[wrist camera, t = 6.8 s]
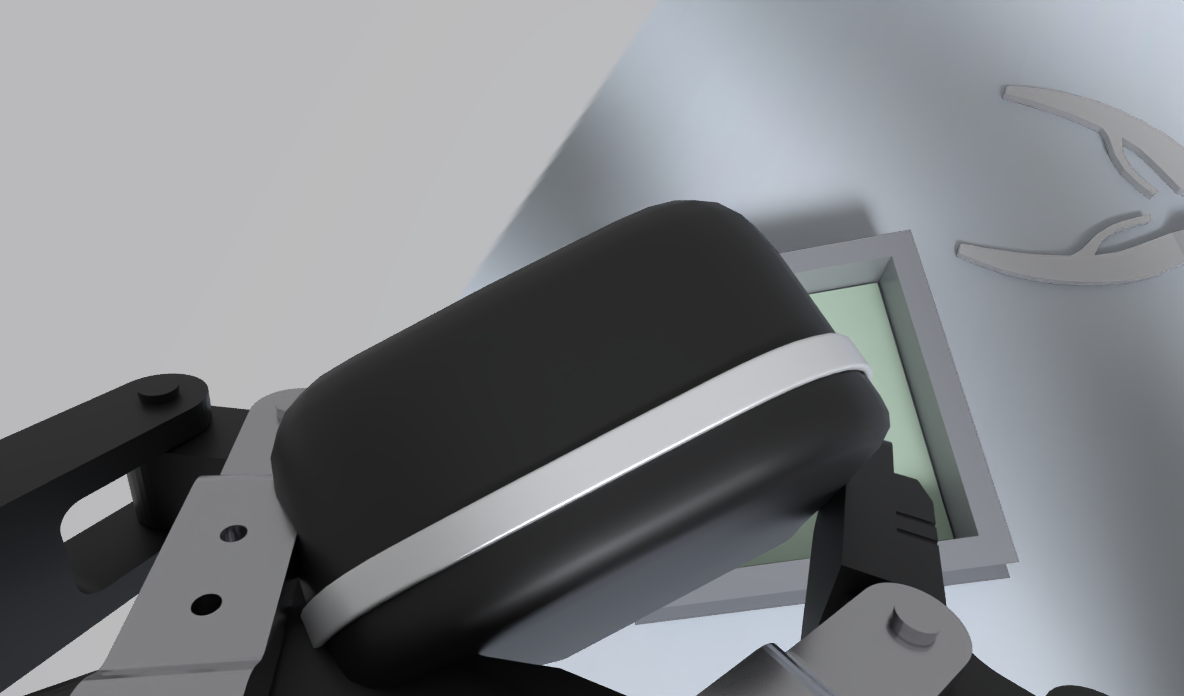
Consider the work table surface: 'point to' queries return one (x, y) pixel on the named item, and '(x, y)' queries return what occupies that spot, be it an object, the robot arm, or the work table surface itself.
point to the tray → (917, 425)
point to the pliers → (1129, 265)
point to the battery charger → (569, 448)
